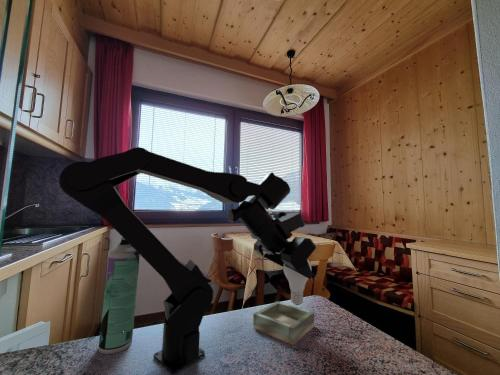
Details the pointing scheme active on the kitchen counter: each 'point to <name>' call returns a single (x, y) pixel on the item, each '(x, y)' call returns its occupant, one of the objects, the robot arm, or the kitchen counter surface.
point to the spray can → (119, 299)
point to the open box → (284, 321)
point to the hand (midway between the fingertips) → (302, 273)
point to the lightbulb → (296, 284)
